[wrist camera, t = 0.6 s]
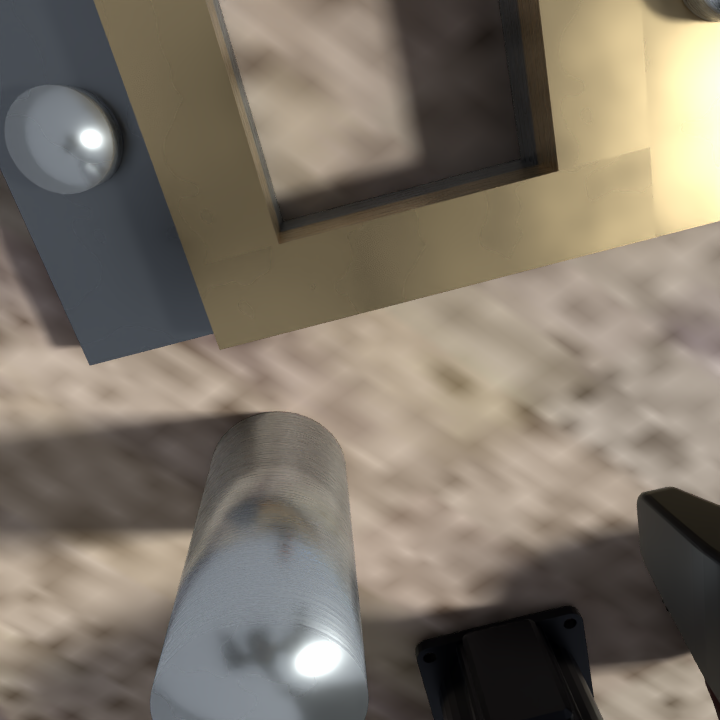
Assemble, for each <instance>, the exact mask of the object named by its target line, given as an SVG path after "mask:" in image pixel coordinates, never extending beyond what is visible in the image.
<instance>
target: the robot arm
mask: <svg viewBox="0 0 720 720" xmlns="http://www.w3.org/2000/svg"><path fill="white" fill-rule="evenodd" d="M637 515H638V528H639V542H640V551H641V555H642V558H643V561H644V564H645V566H646V568H647V570H648V572H649V574H650V576H651V578H652V580H653V582H654V583H655V585H656V587H657V589H658V591H659V593H660V595H661V597H662V599H663V601H664V603H665V604H666V606H667V608H668V610H669V612H670V614H671V616H672V618H673V620H674V622H675V623H676V625H677V627H678V629H679V631H680V633H681V635H682V637H683V639H684V641H685V643H686V644H687V646H688V648H689V650H690V652H691V654H692V656H693V658H694V660H695V662H696V663H697V665H698V667H699V669H700V671H701V672H702V674H703V676H704V678H705V680H706V682H707V683H708V685H709V686H710V688H711V690H712V691H713V693H714V694H715V696H716V697H717V699H718V701H719V702H720V505H717V504H715V503H712V502H710V501H707V500H705V499H703V498H700V497H698V496H695V495H693V494H690V493H688V492H685V491H683V490H680V489H678V488H675V487H665V488H660V489H656V490H652V491H647V492H643V493H641V494H640V495H639V497H638V500H637ZM568 619H570V620H568ZM566 620H568V621H566ZM427 653H431V654H427ZM416 657H417V662H418V666H419V669H420V672H421V676H422V679H423V683H424V686H425V690H426V693H427V697H428V700H429V704H430V707H431V711H432V714H433V718H434V720H603V717H602V715H601V713H600V711H599V709H598V707H597V705H596V703H595V700H594V695H593V688H592V681H591V674H590V667H589V660H588V653H587V646H586V639H585V631H584V624H583V619H582V617H581V615H580V613H579V611H578V609H576V608H575V607H573V606H564V607H560V608H556V609H552V610H547V611H543V612H539V613H535V614H531V615H527V616H523V617H519V618H515V619H511V620H506V621H502V622H498V623H494V624H490V625H486V626H482V627H478V628H474V629H470V630H465V631H461V632H457V633H453V634H449V635H445V636H441V637H437V638H433V639H429V640H425V641H422V642H420V643H419V644H418V645H417V647H416Z"/></svg>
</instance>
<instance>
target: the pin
mask: <svg viewBox="0 0 720 720" xmlns="http://www.w3.org/2000/svg"><path fill="white" fill-rule="evenodd" d="M368 701H369V700H368V686H367V676H366V666H365V656H364V645H363V635H362V625H361V615H360V605H359V595H358V585H357V575H356V564H355V554H354V544H353V534H352V524H351V514H350V504H349V494H348V483H347V473H346V463H345V458H344V454H343V452H342V449H341V447H340V445H339V443H338V441H337V440H336V439H335V437H334V436H333V435H332V434H331V433H330V432H329V431H328V430H327V429H326V428H325V427H323V426H322V425H321V424H319V423H318V422H316V421H314V420H312V419H310V418H308V417H305V416H302V415H299V414H295V413H289V412H267V413H262V414H258V415H255V416H252V417H249V418H247V419H245V420H243V421H241V422H239V423H238V424H236V425H235V426H233V427H232V428H231V429H230V430H229V431H228V432H227V433H226V434H225V435H224V436H223V437H222V439H221V440H220V442H219V443H218V445H217V447H216V449H215V452H214V455H213V458H212V462H211V466H210V469H209V473H208V477H207V481H206V485H205V489H204V492H203V496H202V500H201V504H200V508H199V511H198V515H197V519H196V523H195V527H194V531H193V534H192V538H191V542H190V546H189V550H188V553H187V557H186V561H185V565H184V569H183V572H182V576H181V580H180V584H179V588H178V592H177V595H176V599H175V603H174V607H173V611H172V614H171V618H170V622H169V626H168V630H167V634H166V637H165V641H164V645H163V649H162V653H161V656H160V660H159V664H158V668H157V672H156V675H155V679H154V683H153V687H152V691H151V698H150V710H151V715H152V720H365V717H366V713H367V709H368Z"/></svg>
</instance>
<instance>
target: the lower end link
mask: <svg viewBox="0 0 720 720" xmlns="http://www.w3.org/2000/svg"><path fill="white" fill-rule="evenodd" d="M213 4H214V7H215V10H216V14H217V17H218V21H219V24H220V27H221V31H222V34H223V37H224V41H225V44H226V48H227V51H228V54H229V58H230V61H231V65H232V68H233V71H234V75H235V78H236V81H237V85H238V88H239V92H240V95H241V98H242V102H243V105H244V108H245V112H246V115H247V119H248V122H249V125H250V129H251V132H252V135H253V139H254V142H255V146H256V149H257V152H258V156H259V159H260V162H261V166H262V169H263V173H264V176H265V179H266V183H267V186H268V189H269V193H270V196H271V200H272V203H273V206H274V210H275V213H276V217H277V220H278V223H279V227H280V230H281V232H283V231H287V230H291V229H295V228H298V227H302V226H306V225H310V224H314V223H318V222H321V221H325V220H329V219H333V218H337V217H340V216H344V215H348V214H352V213H356V212H359V211H363V210H367V209H371V208H375V207H378V206H382V205H386V204H390V203H394V202H398V201H401V200H405V199H409V198H413V197H417V196H420V195H424V194H428V193H432V192H436V191H439V190H443V189H447V188H451V187H455V186H458V185H462V184H466V183H470V182H474V181H478V180H481V179H485V178H489V177H493V176H497V175H500V174H504V173H508V172H512V171H516V170H519V169H523V168H527V167H531V166H535V165H538V159H537V151H536V143H535V135H534V128H533V120H532V112H531V104H530V97H529V89H528V81H527V73H526V66H525V58H524V50H523V42H522V35H521V27H520V19H519V11H518V4H517V0H499V5H500V12H501V20H502V27H503V34H504V41H505V48H506V56H507V63H508V70H509V77H510V84H511V92H512V99H513V106H514V113H515V120H516V127H517V135H518V142H519V149H520V156H521V159H519V160H515V161H511V162H508V163H504V164H500V165H496V166H492V167H489V168H485V169H481V170H477V171H473V172H470V173H466V174H462V175H458V176H454V177H451V178H447V179H443V180H439V181H435V182H432V183H428V184H424V185H420V186H416V187H412V188H409V189H405V190H401V191H397V192H393V193H390V194H386V195H382V196H378V197H374V198H371V199H367V200H363V201H359V202H355V203H352V204H348V205H344V206H340V207H336V208H333V209H329V210H325V211H321V212H317V213H314V214H310V215H306V216H302V217H298V218H295V219H291V220H287V221H283V219H282V216H281V213H280V209H279V206H278V202H277V199H276V195H275V192H274V189H273V185H272V182H271V178H270V175H269V172H268V168H267V165H266V161H265V158H264V155H263V151H262V148H261V144H260V141H259V137H258V134H257V131H256V127H255V124H254V120H253V117H252V114H251V110H250V107H249V103H248V100H247V96H246V93H245V90H244V86H243V83H242V79H241V76H240V73H239V69H238V66H237V62H236V59H235V55H234V52H233V49H232V45H231V42H230V38H229V35H228V32H227V28H226V25H225V21H224V18H223V15H222V11H221V8H220V4H219V1H218V0H213ZM0 169H1V171H2V173H3V176H4V178H5V180H6V182H7V184H8V187H9V189H10V191H11V193H12V195H13V198H14V200H15V202H16V204H17V206H18V209H19V211H20V213H21V215H22V217H23V220H24V222H25V224H26V226H27V228H28V231H29V233H30V235H31V237H32V239H33V242H34V244H35V246H36V248H37V250H38V253H39V255H40V257H41V259H42V261H43V264H44V266H45V268H46V270H47V272H48V275H49V277H50V279H51V281H52V283H53V286H54V288H55V290H56V292H57V294H58V297H59V299H60V301H61V303H62V305H63V308H64V310H65V312H66V314H67V316H68V319H69V321H70V323H71V325H72V327H73V330H74V332H75V334H76V336H77V338H78V341H79V343H80V345H81V347H82V349H83V352H84V354H85V356H86V358H87V360H88V363H89V365H94V364H98V363H101V362H105V361H109V360H113V359H117V358H121V357H125V356H128V355H132V354H136V353H140V352H144V351H148V350H152V349H155V348H159V347H163V346H167V345H171V344H175V343H179V342H182V341H186V340H190V339H194V338H198V337H202V336H206V335H209V334H213V333H214V332H213V330H212V327H211V324H210V321H209V319H208V316H207V313H206V310H205V308H204V305H203V302H202V299H201V296H200V294H199V291H198V288H197V285H196V283H195V280H194V277H193V274H192V272H191V269H190V266H189V263H188V260H187V258H186V255H185V252H184V249H183V247H182V244H181V241H180V238H179V236H178V233H177V230H176V227H175V225H174V222H173V219H172V216H171V213H170V211H169V208H168V205H167V202H166V200H165V197H164V194H163V191H162V189H161V186H160V183H159V180H158V177H157V175H156V172H155V169H154V166H153V164H152V161H151V158H150V155H149V153H148V150H147V147H146V144H145V141H144V139H143V136H142V133H141V130H140V128H139V125H138V122H137V119H136V117H135V114H134V111H133V108H132V106H131V103H130V100H129V97H128V94H127V92H126V89H125V86H124V83H123V81H122V78H121V75H120V72H119V70H118V67H117V64H116V61H115V58H114V56H113V53H112V50H111V47H110V45H109V42H108V39H107V36H106V34H105V31H104V28H103V25H102V22H101V20H100V17H99V14H98V11H97V9H96V6H95V3H94V0H0Z"/></svg>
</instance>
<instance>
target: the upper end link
mask: <svg viewBox="0 0 720 720" xmlns="http://www.w3.org/2000/svg"><path fill="white" fill-rule="evenodd" d="M94 3H95V6H96V9H97V11H98V14H99V17H100V20H101V22H102V25H103V28H104V31H105V34H106V36H107V39H108V42H109V45H110V47H111V50H112V53H113V56H114V58H115V61H116V64H117V67H118V70H119V72H120V75H121V78H122V81H123V83H124V86H125V89H126V92H127V94H128V97H129V100H130V103H131V106H132V108H133V111H134V114H135V117H136V119H137V122H138V125H139V128H140V130H141V133H142V136H143V139H144V141H145V144H146V147H147V150H148V153H149V155H150V158H151V161H152V164H153V166H154V169H155V172H156V175H157V177H158V180H159V183H160V186H161V189H162V191H163V194H164V197H165V200H166V202H167V205H168V208H169V211H170V213H171V216H172V219H173V222H174V225H175V227H176V230H177V233H178V236H179V238H180V241H181V244H182V247H183V249H184V252H185V255H186V258H187V260H188V263H189V266H190V269H191V272H192V274H193V277H194V280H195V283H196V285H197V288H198V291H199V294H200V296H201V299H202V302H203V305H204V308H205V310H206V313H207V316H208V319H209V321H210V324H211V327H212V330H213V332H214V335H215V338H216V341H217V344H218V346H219V349H220V350H221V349H225V348H229V347H233V346H237V345H241V344H245V343H248V342H252V341H256V340H260V339H264V338H268V337H272V336H276V335H279V334H283V333H287V332H291V331H295V330H299V329H303V328H307V327H310V326H314V325H318V324H322V323H326V322H330V321H334V320H338V319H341V318H345V317H349V316H353V315H357V314H361V313H365V312H368V311H372V310H376V309H380V308H384V307H388V306H392V305H396V304H399V303H403V302H407V301H411V300H415V299H419V298H423V297H427V296H430V295H434V294H438V293H442V292H446V291H450V290H454V289H458V288H461V287H465V286H469V285H473V284H477V283H481V282H485V281H489V280H492V279H496V278H500V277H504V276H508V275H512V274H516V273H519V272H523V271H527V270H531V269H535V268H539V267H543V266H547V265H550V264H554V263H558V262H562V261H566V260H570V259H574V258H578V257H581V256H585V255H589V254H593V253H597V252H601V251H605V250H609V249H612V248H616V247H620V246H624V245H628V244H632V243H636V242H640V241H643V240H647V239H651V238H655V237H659V236H663V235H667V234H670V233H674V232H678V231H682V230H686V229H690V228H694V227H698V226H701V225H705V224H709V223H713V222H717V221H720V0H517V4H518V11H519V19H520V27H521V35H522V42H523V50H524V58H525V66H526V73H527V81H528V89H529V97H530V104H531V112H532V120H533V128H534V135H535V143H536V151H537V159H538V165H535V166H531V167H527V168H523V169H519V170H516V171H512V172H508V173H504V174H500V175H497V176H493V177H489V178H485V179H481V180H478V181H474V182H470V183H466V184H462V185H458V186H455V187H451V188H447V189H443V190H439V191H436V192H432V193H428V194H424V195H420V196H417V197H413V198H409V199H405V200H401V201H398V202H394V203H390V204H386V205H382V206H378V207H375V208H371V209H367V210H363V211H359V212H356V213H352V214H348V215H344V216H340V217H337V218H333V219H329V220H325V221H321V222H318V223H314V224H310V225H306V226H302V227H298V228H295V229H291V230H287V231H283V232H281V230H280V227H279V223H278V220H277V217H276V213H275V210H274V206H273V203H272V200H271V196H270V193H269V189H268V186H267V183H266V179H265V176H264V173H263V169H262V166H261V162H260V159H259V156H258V152H257V149H256V146H255V142H254V139H253V135H252V132H251V129H250V125H249V122H248V119H247V115H246V112H245V108H244V105H243V102H242V98H241V95H240V92H239V88H238V85H237V81H236V78H235V75H234V71H233V68H232V65H231V61H230V58H229V54H228V51H227V48H226V44H225V41H224V37H223V34H222V31H221V27H220V24H219V21H218V17H217V14H216V10H215V7H214V4H213V0H94Z"/></svg>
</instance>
